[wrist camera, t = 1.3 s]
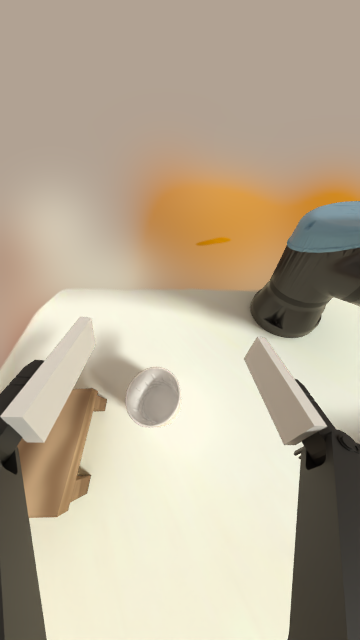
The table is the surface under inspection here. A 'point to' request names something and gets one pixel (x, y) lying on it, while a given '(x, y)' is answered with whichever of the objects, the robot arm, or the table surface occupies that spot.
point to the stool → (59, 457)
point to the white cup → (153, 398)
